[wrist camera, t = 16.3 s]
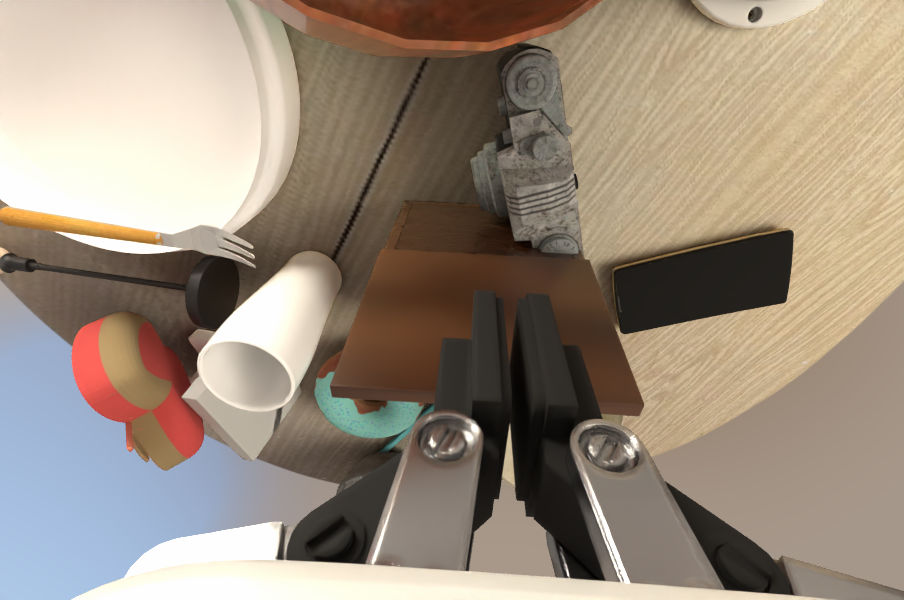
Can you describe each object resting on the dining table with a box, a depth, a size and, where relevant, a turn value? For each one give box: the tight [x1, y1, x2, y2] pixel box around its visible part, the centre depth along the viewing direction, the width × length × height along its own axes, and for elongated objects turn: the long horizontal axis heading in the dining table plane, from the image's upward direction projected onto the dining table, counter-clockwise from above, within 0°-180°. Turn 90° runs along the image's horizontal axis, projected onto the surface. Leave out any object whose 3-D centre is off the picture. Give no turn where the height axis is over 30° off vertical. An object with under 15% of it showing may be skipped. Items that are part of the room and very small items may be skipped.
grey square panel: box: [181, 376, 301, 461], centre depth 45 cm, size 12×11×4 cm
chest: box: [384, 201, 585, 260], centre depth 36 cm, size 12×14×10 cm
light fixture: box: [0, 247, 239, 329], centre depth 40 cm, size 7×7×25 cm
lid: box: [330, 249, 644, 416], centre depth 24 cm, size 12×14×1 cm
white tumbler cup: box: [197, 251, 342, 412], centre depth 36 cm, size 7×7×15 cm
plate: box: [0, 0, 300, 254], centre depth 31 cm, size 27×27×6 cm
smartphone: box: [612, 228, 794, 334], centre depth 40 cm, size 7×1×15 cm
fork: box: [0, 206, 256, 268], centre depth 34 cm, size 2×2×20 cm
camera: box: [471, 44, 584, 256], centre depth 31 cm, size 15×7×10 cm, turn 15°
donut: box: [314, 350, 424, 438], centre depth 47 cm, size 12×12×4 cm
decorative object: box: [72, 312, 204, 470], centre depth 40 cm, size 14×4×15 cm
